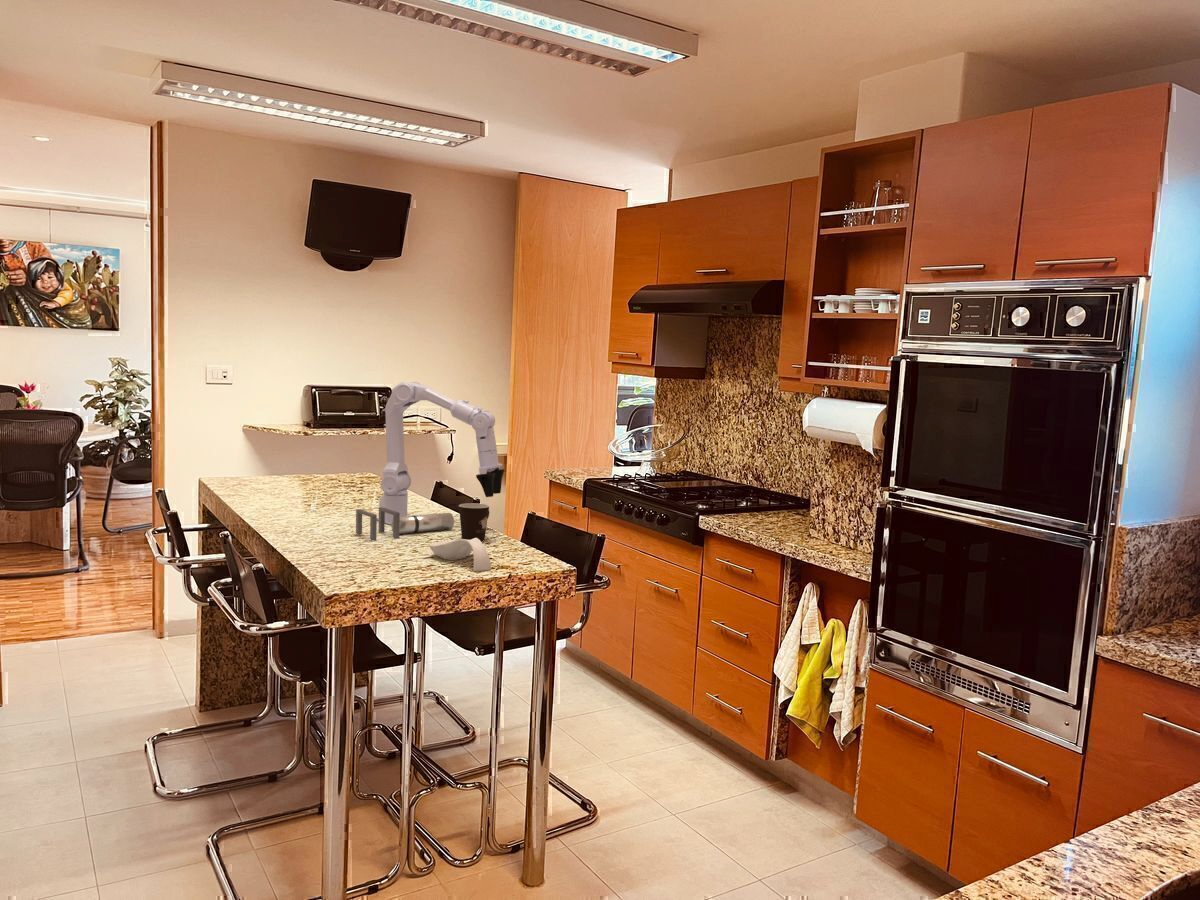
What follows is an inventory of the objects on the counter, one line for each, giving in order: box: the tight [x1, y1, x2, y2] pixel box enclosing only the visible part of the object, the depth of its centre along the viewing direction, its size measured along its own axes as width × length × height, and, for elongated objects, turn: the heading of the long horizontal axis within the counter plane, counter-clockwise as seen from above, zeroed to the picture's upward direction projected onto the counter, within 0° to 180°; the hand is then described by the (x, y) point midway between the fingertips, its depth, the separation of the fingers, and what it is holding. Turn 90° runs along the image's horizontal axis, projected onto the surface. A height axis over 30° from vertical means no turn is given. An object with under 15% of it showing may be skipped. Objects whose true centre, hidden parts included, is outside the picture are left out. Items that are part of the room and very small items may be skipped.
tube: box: [390, 512, 455, 535], centre depth 267 cm, size 18×5×5 cm, turn 129°
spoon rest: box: [429, 538, 492, 572], centre depth 229 cm, size 24×12×7 cm, turn 35°
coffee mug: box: [458, 502, 490, 542], centre depth 258 cm, size 12×9×10 cm
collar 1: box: [355, 508, 378, 541], centre depth 255 cm, size 11×1×7 cm, turn 39°
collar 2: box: [377, 506, 400, 539], centre depth 260 cm, size 11×1×7 cm, turn 39°
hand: (493, 495), depth 274 cm, fingers open, 7 cm apart
